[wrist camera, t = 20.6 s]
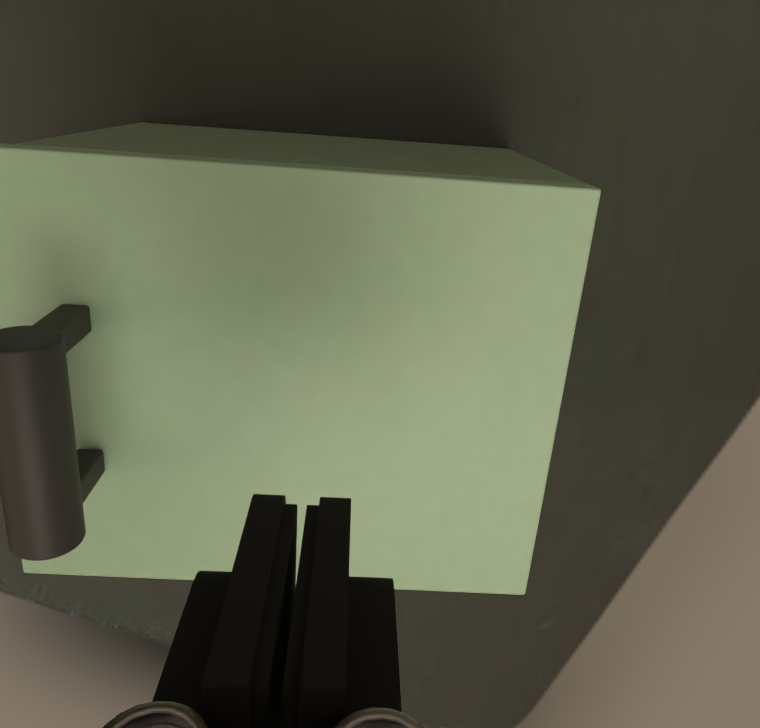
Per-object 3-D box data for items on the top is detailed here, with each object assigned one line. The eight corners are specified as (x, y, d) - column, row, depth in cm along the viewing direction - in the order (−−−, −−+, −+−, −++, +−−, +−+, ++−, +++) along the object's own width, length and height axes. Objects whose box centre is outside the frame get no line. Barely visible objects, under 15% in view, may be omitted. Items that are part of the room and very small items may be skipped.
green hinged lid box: (156, 410, 30) (62, 556, 20) (139, 121, 25) (8, 143, 16) (472, 427, 30) (519, 576, 21) (510, 148, 26) (591, 184, 17)
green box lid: (35, 555, 20) (-48, 674, 16) (-26, 141, 16) (-163, 160, 12) (519, 577, 21) (556, 696, 17) (591, 184, 16) (665, 217, 12)
